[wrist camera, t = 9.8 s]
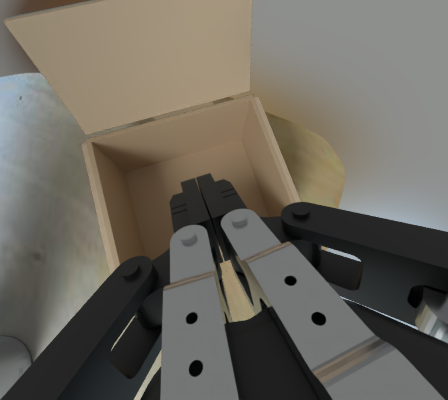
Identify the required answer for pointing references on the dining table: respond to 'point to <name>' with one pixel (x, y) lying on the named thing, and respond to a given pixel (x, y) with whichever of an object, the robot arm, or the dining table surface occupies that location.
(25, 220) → the dining table surface
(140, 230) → the tan open box
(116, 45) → the wooden box lid
